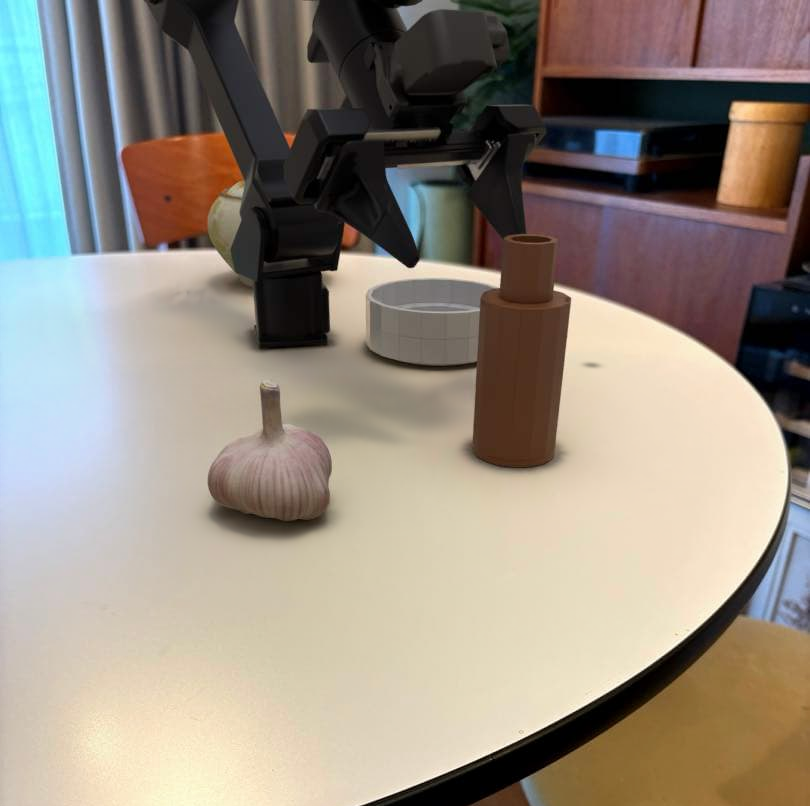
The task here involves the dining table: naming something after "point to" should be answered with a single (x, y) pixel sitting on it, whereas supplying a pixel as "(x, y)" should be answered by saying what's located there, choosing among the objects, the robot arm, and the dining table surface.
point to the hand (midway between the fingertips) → (470, 256)
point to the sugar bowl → (226, 223)
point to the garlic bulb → (273, 468)
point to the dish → (425, 320)
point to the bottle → (521, 356)
